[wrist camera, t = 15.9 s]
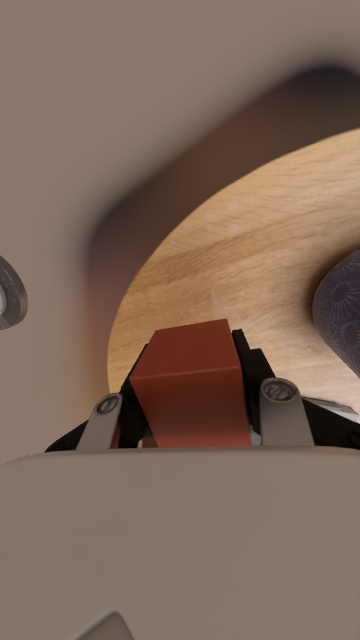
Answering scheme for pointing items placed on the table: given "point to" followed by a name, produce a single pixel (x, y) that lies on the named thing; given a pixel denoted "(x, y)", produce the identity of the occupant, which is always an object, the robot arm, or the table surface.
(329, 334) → the planter
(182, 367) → the block
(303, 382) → the table surface
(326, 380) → the table surface
